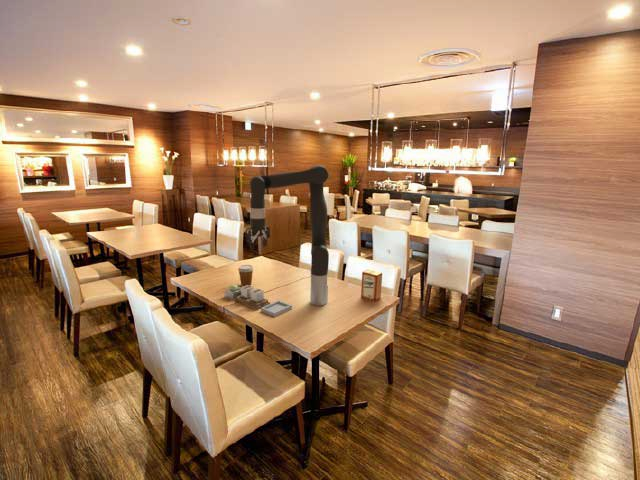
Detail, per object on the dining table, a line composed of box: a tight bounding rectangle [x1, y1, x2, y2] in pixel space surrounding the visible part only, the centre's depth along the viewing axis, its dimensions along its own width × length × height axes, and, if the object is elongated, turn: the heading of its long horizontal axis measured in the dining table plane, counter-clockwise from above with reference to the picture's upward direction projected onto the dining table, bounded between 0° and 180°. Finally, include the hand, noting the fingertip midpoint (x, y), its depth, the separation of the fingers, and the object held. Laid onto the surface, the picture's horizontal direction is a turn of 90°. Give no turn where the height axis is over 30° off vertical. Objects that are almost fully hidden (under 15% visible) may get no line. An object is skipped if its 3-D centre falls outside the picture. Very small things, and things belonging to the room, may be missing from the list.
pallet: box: [234, 295, 271, 311], centre depth 181 cm, size 10×18×2 cm, turn 53°
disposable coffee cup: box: [237, 264, 254, 287], centre depth 207 cm, size 10×10×12 cm
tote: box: [260, 300, 293, 318], centre depth 173 cm, size 13×10×2 cm
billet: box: [250, 288, 265, 304], centre depth 178 cm, size 5×5×7 cm
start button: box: [230, 284, 238, 291], centre depth 188 cm, size 3×3×4 cm
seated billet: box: [240, 285, 255, 300], centre depth 183 cm, size 5×5×7 cm
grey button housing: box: [224, 286, 241, 302], centre depth 188 cm, size 8×8×4 cm
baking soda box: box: [360, 269, 383, 302], centre depth 191 cm, size 10×6×16 cm
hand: (258, 248), depth 168 cm, fingers open, 8 cm apart
